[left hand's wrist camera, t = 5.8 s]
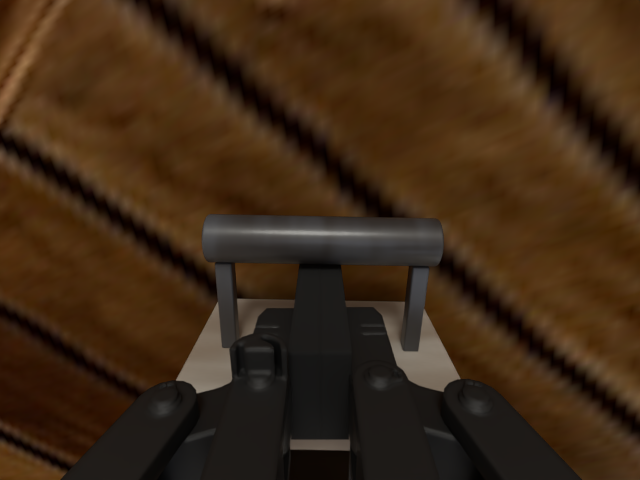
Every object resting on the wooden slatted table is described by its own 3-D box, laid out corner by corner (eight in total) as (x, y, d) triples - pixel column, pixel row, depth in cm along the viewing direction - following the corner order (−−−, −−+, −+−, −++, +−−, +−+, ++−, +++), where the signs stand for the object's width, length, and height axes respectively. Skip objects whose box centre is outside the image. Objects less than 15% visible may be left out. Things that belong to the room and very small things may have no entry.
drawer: (210, 191, 16) (125, 255, 9) (434, 196, 16) (522, 262, 9) (239, 546, 24) (207, 724, 17) (389, 548, 24) (417, 726, 17)
